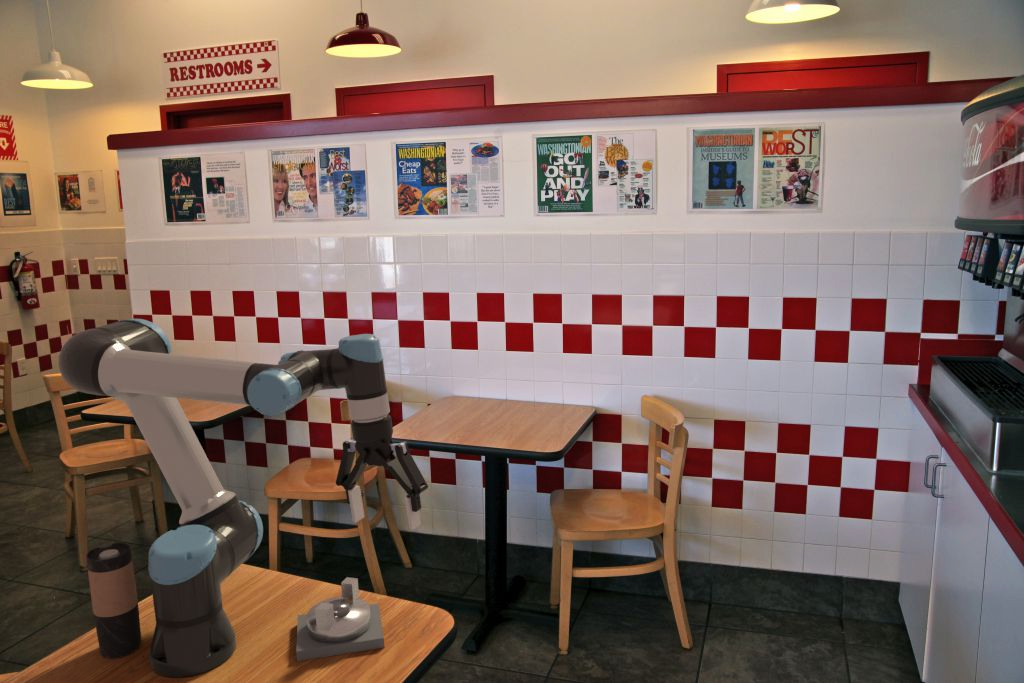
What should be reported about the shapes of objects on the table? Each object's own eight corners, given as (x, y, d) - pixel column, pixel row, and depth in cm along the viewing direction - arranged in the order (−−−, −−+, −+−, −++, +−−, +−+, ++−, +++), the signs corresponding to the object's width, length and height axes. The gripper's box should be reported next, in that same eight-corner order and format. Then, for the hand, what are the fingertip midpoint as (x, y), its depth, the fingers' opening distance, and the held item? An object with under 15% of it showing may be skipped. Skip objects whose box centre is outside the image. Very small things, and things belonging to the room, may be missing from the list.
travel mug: (125, 661, 147) (112, 562, 143) (89, 657, 148) (75, 559, 144) (151, 638, 154) (139, 543, 150) (117, 635, 156) (104, 540, 152)
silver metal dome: (307, 646, 146) (304, 613, 145) (307, 613, 157) (305, 582, 156) (372, 636, 149) (370, 604, 148) (368, 604, 160) (366, 574, 159)
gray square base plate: (297, 661, 146) (296, 648, 145) (298, 624, 158) (297, 612, 157) (384, 647, 149) (383, 635, 149) (379, 612, 162) (378, 600, 161)
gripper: (436, 413, 145) (451, 521, 148) (333, 409, 157) (348, 509, 160) (413, 425, 138) (428, 538, 142) (306, 420, 150) (323, 524, 154)
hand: (386, 523), depth 151 cm, fingers open, 13 cm apart
